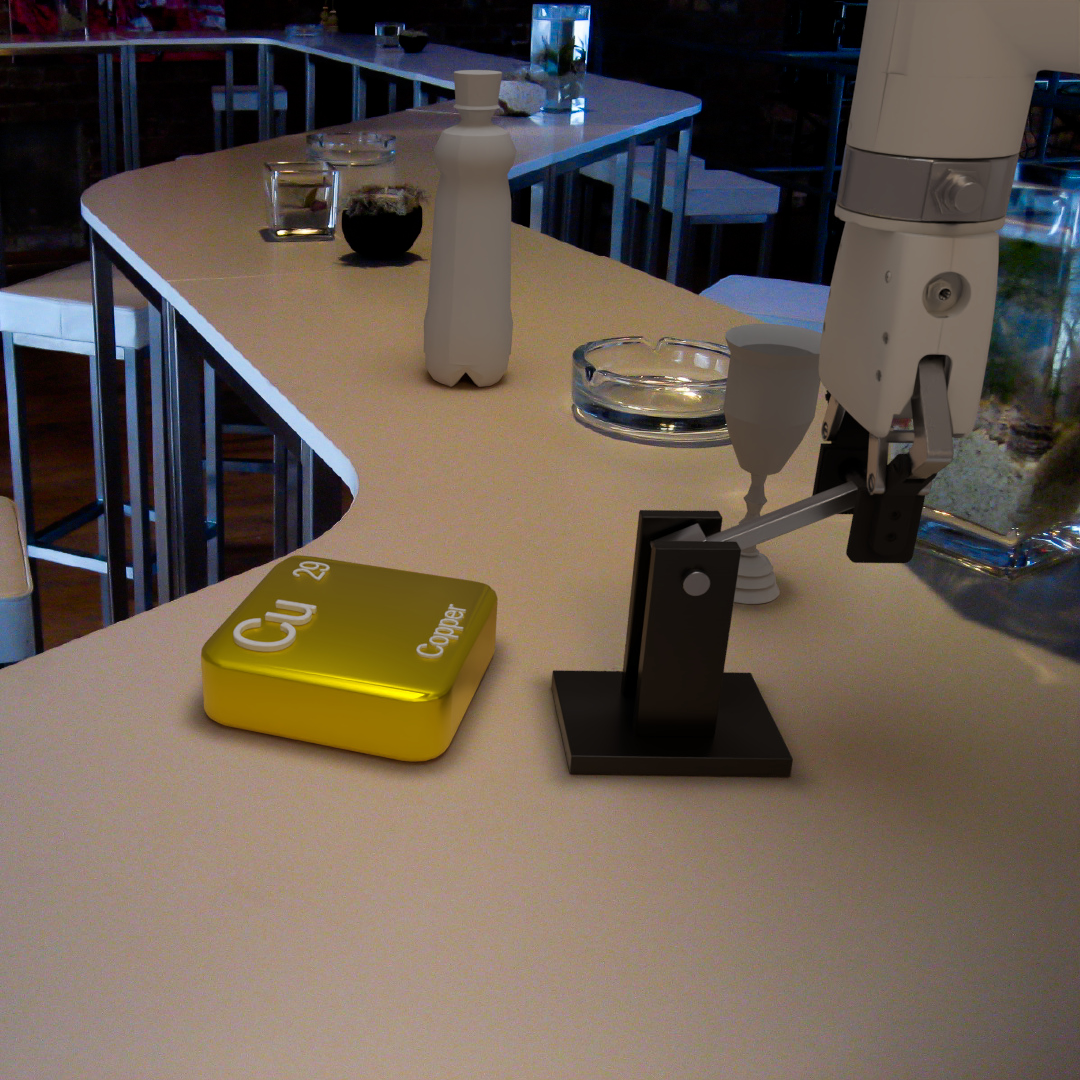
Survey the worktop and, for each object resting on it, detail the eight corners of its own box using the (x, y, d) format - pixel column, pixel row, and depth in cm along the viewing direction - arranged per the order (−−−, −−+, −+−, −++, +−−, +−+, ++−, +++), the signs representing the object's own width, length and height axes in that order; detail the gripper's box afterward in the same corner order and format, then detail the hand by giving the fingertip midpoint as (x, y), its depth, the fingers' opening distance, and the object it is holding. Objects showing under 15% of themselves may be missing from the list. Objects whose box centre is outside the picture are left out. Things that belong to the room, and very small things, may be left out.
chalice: (800, 615, 85) (844, 358, 78) (697, 607, 86) (730, 353, 79) (784, 567, 92) (824, 326, 84) (689, 560, 93) (719, 321, 85)
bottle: (510, 392, 127) (527, 77, 115) (420, 389, 128) (426, 76, 115) (509, 365, 136) (525, 68, 123) (425, 362, 136) (432, 67, 124)
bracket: (748, 689, 77) (778, 496, 71) (790, 777, 69) (827, 567, 63) (551, 686, 77) (565, 494, 72) (569, 774, 69) (587, 565, 64)
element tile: (439, 771, 69) (441, 697, 67) (191, 722, 74) (186, 651, 72) (501, 641, 82) (505, 576, 80) (287, 606, 87) (286, 543, 84)
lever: (869, 483, 69) (857, 445, 68) (904, 522, 64) (892, 483, 63) (658, 565, 71) (644, 529, 70) (677, 609, 67) (662, 572, 66)
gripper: (1094, 225, 52) (998, 613, 60) (933, 160, 67) (873, 475, 75) (909, 225, 52) (838, 611, 60) (791, 159, 67) (746, 474, 75)
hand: (858, 532), depth 67 cm, fingers closed on lever, 5 cm apart
